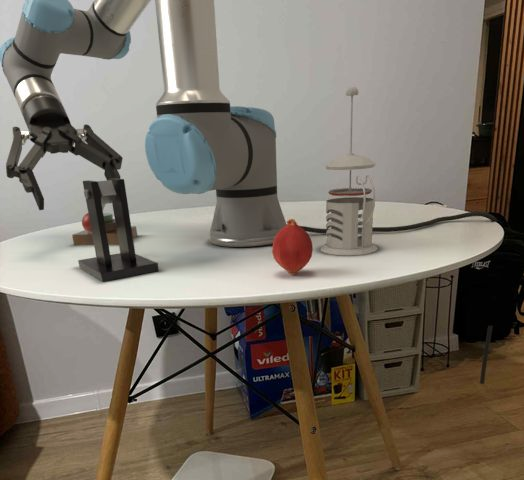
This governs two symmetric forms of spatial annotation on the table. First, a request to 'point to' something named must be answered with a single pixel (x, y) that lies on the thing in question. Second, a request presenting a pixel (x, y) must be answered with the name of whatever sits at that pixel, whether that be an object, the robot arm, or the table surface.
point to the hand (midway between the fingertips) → (82, 200)
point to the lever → (106, 197)
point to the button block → (111, 231)
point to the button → (108, 217)
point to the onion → (292, 247)
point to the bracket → (126, 260)
